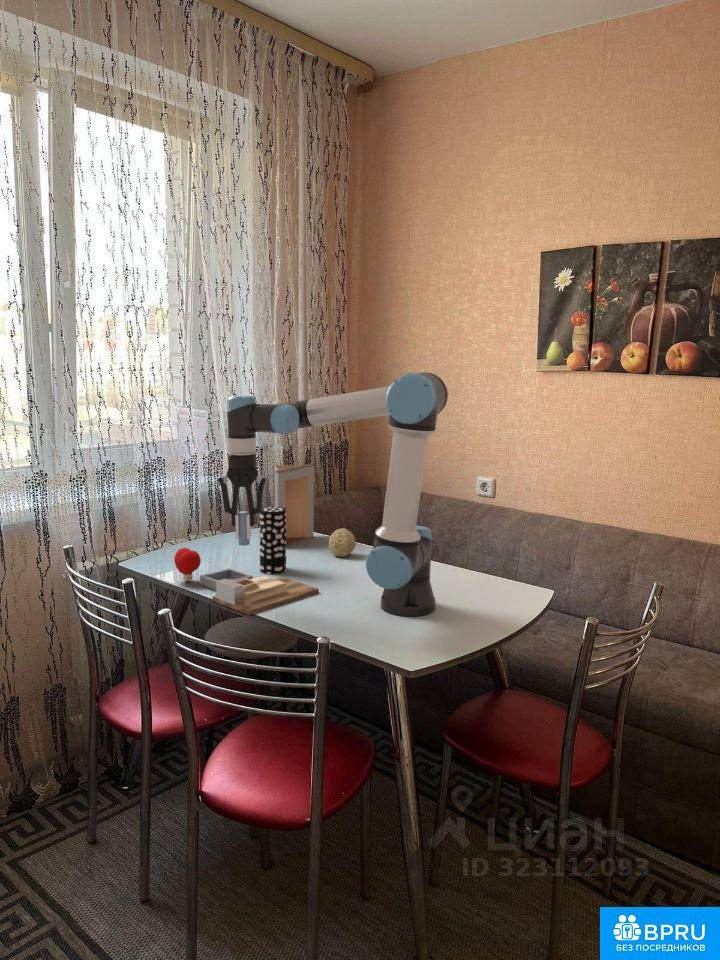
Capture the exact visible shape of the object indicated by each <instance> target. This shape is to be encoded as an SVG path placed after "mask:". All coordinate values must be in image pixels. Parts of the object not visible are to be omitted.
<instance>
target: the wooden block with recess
mask: <svg viewBox="0 0 720 960" xmlns="http://www.w3.org/2000/svg"><path fill="white" fill-rule="evenodd" d="M275 579H276V578H272V577H269V576H267V575H261V576H256V577H253V579H247V578H245V579H241V580H237V581H234V582H236V583H239V584H242V585H243V601H244V602H246V603H249V602H252V601H256V600H259V599H263V598H266V597H269V596H273V595H276V594H280V593H283V592H286V583H284V582H281V581H278V580H275Z"/></svg>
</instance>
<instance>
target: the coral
mask: <svg viewBox="0 0 720 960" xmlns="http://www.w3.org/2000/svg"><path fill="white" fill-rule="evenodd" d="M356 542H357V541H356V537H355V535H354V533H353V532H352V531H350V530H349V529H348V528H345V527H342V528H338V529H335V530H334V531H333V533H331V535H330V537H329V540H328V547H329V550H330V552H331V554H332V555H333V556H334V557H338V558H339V557H340V558H345V557H347V556H348V555H349V554H351V553H352V552H353V551H354V550H355V547H356Z"/></svg>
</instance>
